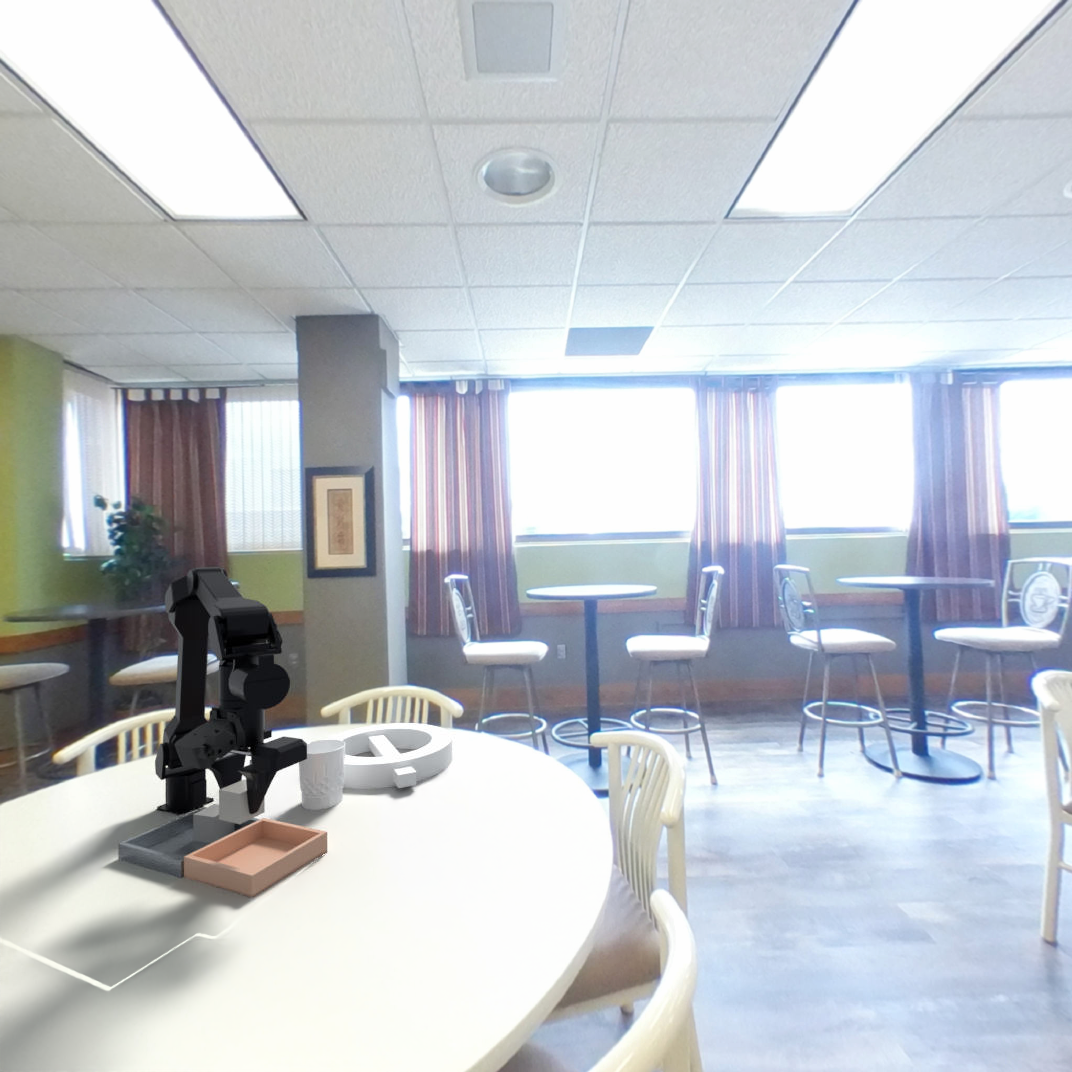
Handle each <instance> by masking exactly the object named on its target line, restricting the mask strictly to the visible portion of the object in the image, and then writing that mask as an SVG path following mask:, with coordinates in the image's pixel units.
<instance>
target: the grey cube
mask: <svg viewBox="0 0 1072 1072" xmlns="http://www.w3.org/2000/svg"><path fill="white" fill-rule="evenodd" d="M233 832H235V823H232V822H228V821H224V820H219V803H214V804H211V805H210V806H207V808H205V809H203V810H201V811H199V812H197V813H195V814H193V841H197V842H204V843H213V842H215V841H217V840H219V839H221V838H223V837H225V836H227V835H229V834H231V833H233Z"/></svg>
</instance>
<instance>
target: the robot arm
mask: <svg viewBox="0 0 1072 1072" xmlns="http://www.w3.org/2000/svg"><path fill="white" fill-rule="evenodd" d="M164 597H165V598H164V607H165V613H167V614H168V620H169V621H170V623H171V624H172V626H173V627H174V629H175V630H176V631H177V634H178V644H177V661H176V662H177V663H176V664H177V665H176V666H177V668H176V686H175V687H176V689H175V708H174V711H175V712H174V715H173V717H172V718H171V719H170V721H169V722H168V724H167V725H166V726H165V728H164V729H163V734H162V735H163V736H162V737H163V738H162V742H161V743H159V745H158V749H157V753H156V756H155V761H154V767H155V768H154V769H155V775H156V776H157V777H158V778H159V779H160V780H161V781H162V780H165V803H163V804H161V805H159V806H157V807H156V810H157V811H161V812H165V813H169V814H173V815H178V816H181V815H186V814H188V813H190V812H193V811H195V810H198V809H200V808H201V807H205V806H206V805H208V804H210V803H213V802H215V801H214V800H215V799H214V798H213V797H209V796H207V794H208V793H207V790H208V789H207V786H208V784H207V775H206V774H207V773H206V772H207V770H208V771H211V772H212V774H213V776H214V778H215V780H216V783H217V785H218V788H219V789H222V788H224V787H227V786H229V785H231V784H234V783H236V782H239V781H241V780H243V777H245V780H246V783H247V797H248V807H249V813H250V814H254V813H256V812H258V810H259V808H260V806H261V804H262V801H263V799H264V797H266V795H267V793H268V791H269V788H270V786H271V784H272V782H273V780H274V778H275V777H276V774H277V773H278V772H280V771H282V770H284V769H286V768H288V767H291V766H294V765H296V764H299V762H301V761H303V760H306V759H307V743H308V742H306V741H304V740H303V738H298V737H297V738H296V737H292V736H291V737H290V736H281V737H278V738H276V739H273V740H269V741H267V742H265V740H267V739H270V738H272V736H273V735H272V734H273V733H272V731H273V730H272V729H270V728H268V729H267V728H266V727H265V726H266V724H265V723H266V721H265V720H266V718H265V717H266V715H265V714H266V713H265V712H266V710H268V709H272V708H274V707H276V706H277V705H279V704H280V703H282V702H283V701H284V700H285V699H286V696H288V693H289V691H290V688H291V687H290V686H291V679H290V677H289V675H288V672H287V671H286V669H285V668H284V667H283V666H281V665H279V664H276V663H275V655H281V654H282V645H283V642H284V641H283V639H282V636H281V633H280V629H279V628H278V625H277V622H276V620H275V618H274V616H273V614H272V611H269V609H268V607H267V606H266V605H265V604H264V603H263V602H260V601H258V600H256V599H250V598H246V597H243V595H242V594H241V593H240V592H239V591H238V589H237V587H235V586H234V584H233V583H232V582H231V581H230V579H229V578H228V574H227V571H226V569H225V568H221V567H217V566H215V567H194V568H193V569H190V570H188V572H187V574H186V575H184V576H183V577H180V578H179V579H177V580H175V581H173V582H171V583H170V584H169V586H168V588H167V591H166V593H165V596H164ZM209 641H210V644H211V646H212V649H213V651H214V655H215V657H216V659H217V660H218V661H219V662H218V705H216V706H211V709H210V711H209V717H208V718H209V719H208V720H207V718H206V697H207V696H206V695H207V677H208V657H209V656H208V654H209ZM246 757H250V760H249V764H248V765H245V763H246Z"/></svg>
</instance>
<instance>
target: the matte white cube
mask: <svg viewBox="0 0 1072 1072" xmlns="http://www.w3.org/2000/svg"><path fill="white" fill-rule="evenodd" d="M265 797H266V796H265ZM265 797H264V799H263V801H262V804H261V806H260V808H259V810H258V812H256V813H254V814H250V813H249V807H248V797H247V783H246V778H245V779H242V780H241V781H239V782H236V783H234V784H231V785H229V786H227V787H224V788H222V789H220V788H219V789H218V804H219V820H224V821H228V822H232V823H236V824H241V823H243V822H246V821H248V820H250V819H252V818H256V817H258V816H260V815H261V814H265V808H266V807H265V805H266V804H265Z"/></svg>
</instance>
